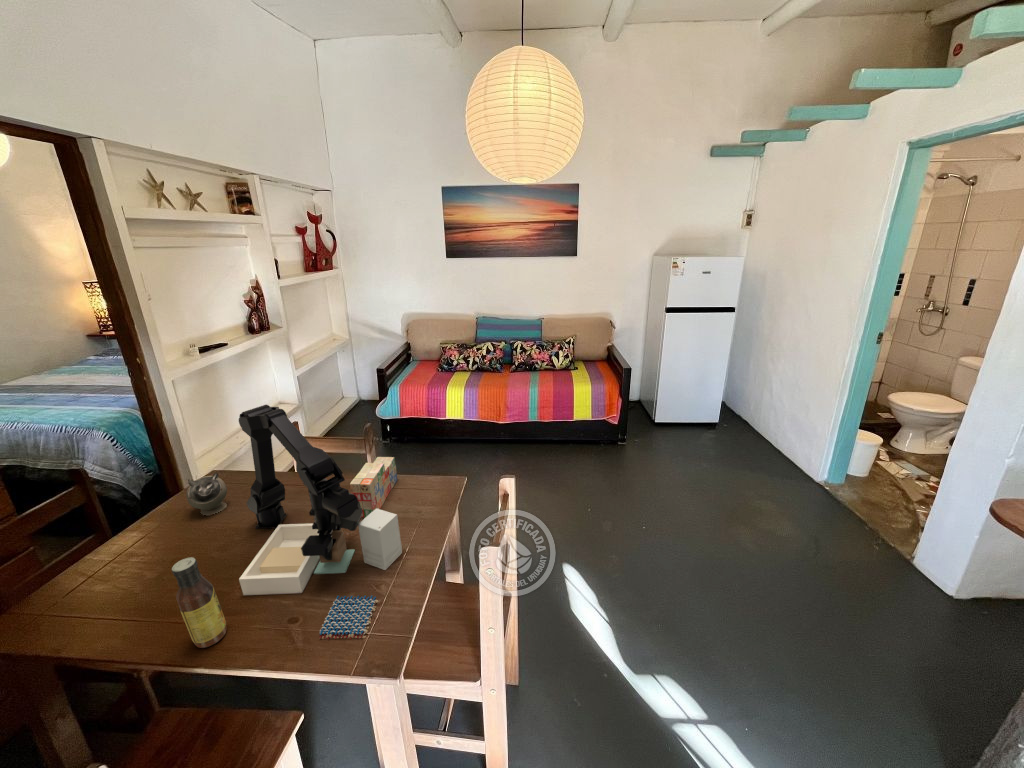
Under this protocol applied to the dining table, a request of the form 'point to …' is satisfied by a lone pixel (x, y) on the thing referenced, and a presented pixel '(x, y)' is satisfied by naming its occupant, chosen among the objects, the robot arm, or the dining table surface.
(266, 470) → the robot arm
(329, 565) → the teal pad
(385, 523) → the supplement box
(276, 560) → the crate
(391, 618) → the dining table surface
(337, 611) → the woven mat
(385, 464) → the stack of blocks
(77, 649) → the dining table surface
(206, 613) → the sauce bottle
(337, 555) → the walnut block
